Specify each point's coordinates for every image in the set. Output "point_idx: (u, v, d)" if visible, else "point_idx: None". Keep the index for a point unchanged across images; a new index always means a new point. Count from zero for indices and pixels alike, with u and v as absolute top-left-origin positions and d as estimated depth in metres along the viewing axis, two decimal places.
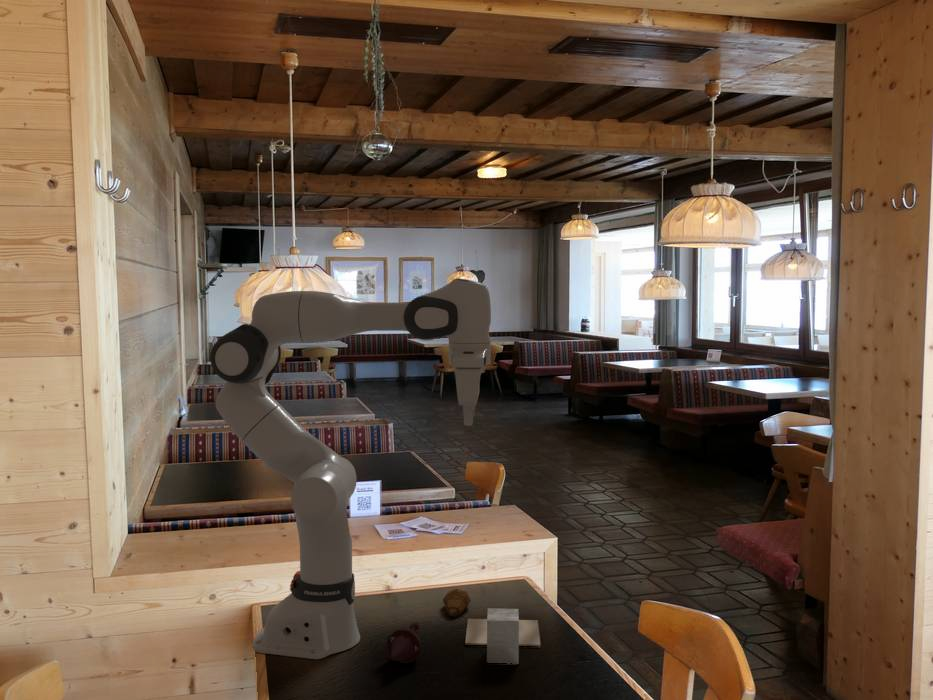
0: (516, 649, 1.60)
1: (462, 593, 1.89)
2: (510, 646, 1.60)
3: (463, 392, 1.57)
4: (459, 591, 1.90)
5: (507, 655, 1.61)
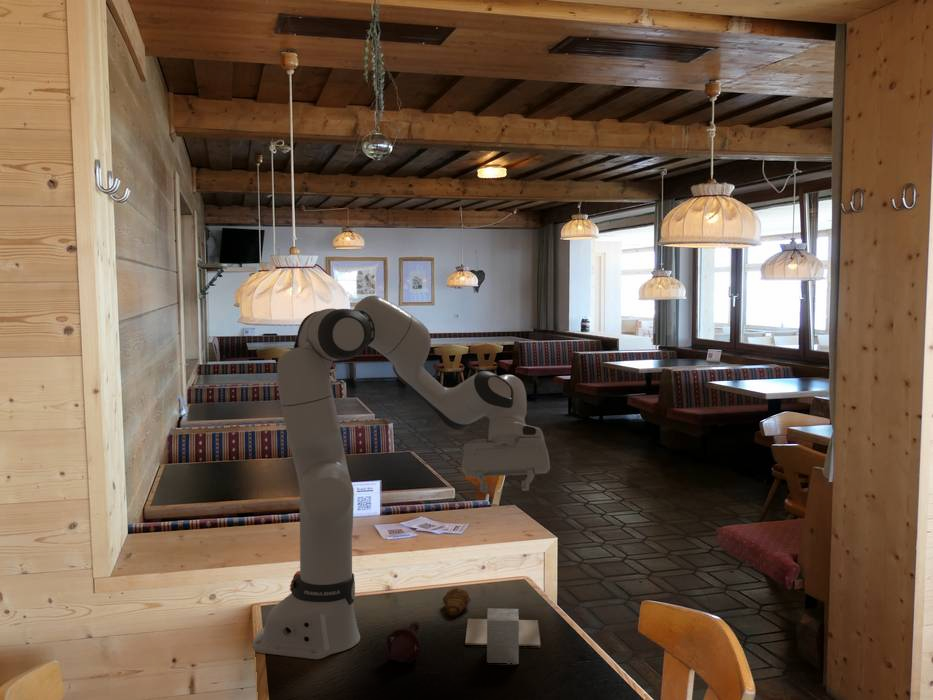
0: (516, 649, 1.60)
1: (462, 592, 1.89)
2: (510, 646, 1.60)
3: (548, 458, 1.81)
4: (459, 590, 1.90)
5: (507, 655, 1.61)
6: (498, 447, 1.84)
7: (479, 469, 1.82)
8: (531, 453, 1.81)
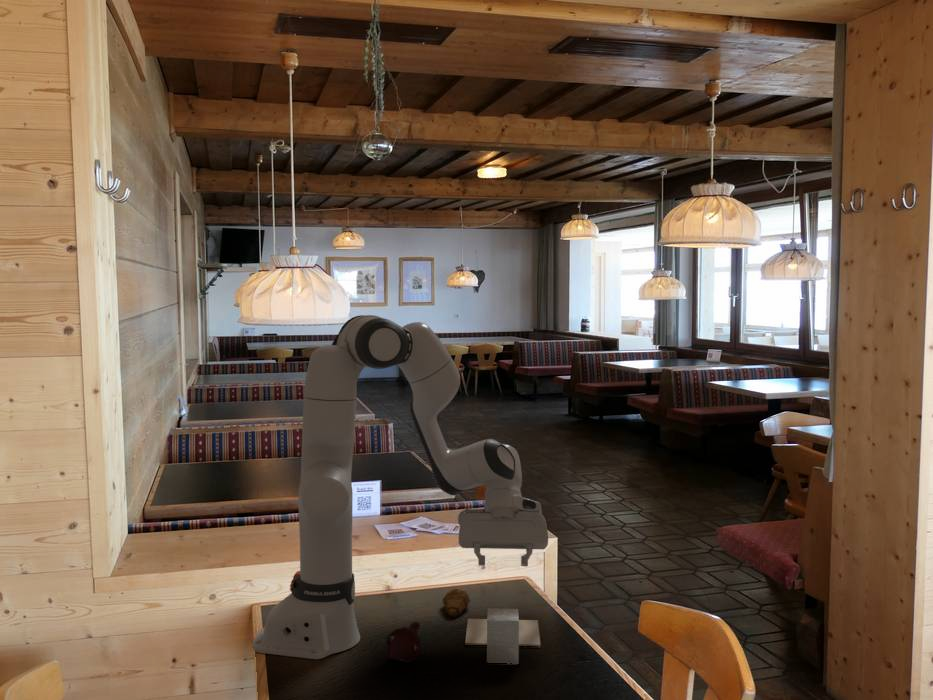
0: (516, 649, 1.60)
1: (462, 593, 1.89)
2: (510, 646, 1.60)
3: None
4: (459, 591, 1.90)
5: (507, 655, 1.61)
6: (496, 519, 1.81)
7: (477, 541, 1.77)
8: (531, 527, 1.79)
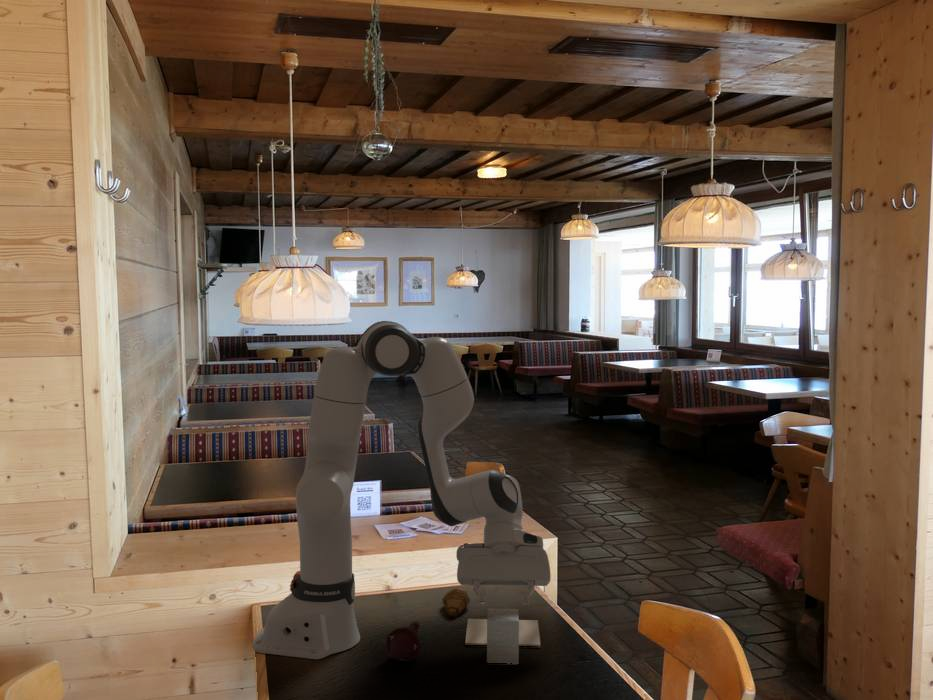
0: (516, 649, 1.60)
1: (461, 593, 1.89)
2: (510, 646, 1.60)
3: None
4: (458, 591, 1.90)
5: (507, 655, 1.61)
6: (496, 554, 1.73)
7: (476, 578, 1.70)
8: (532, 563, 1.72)
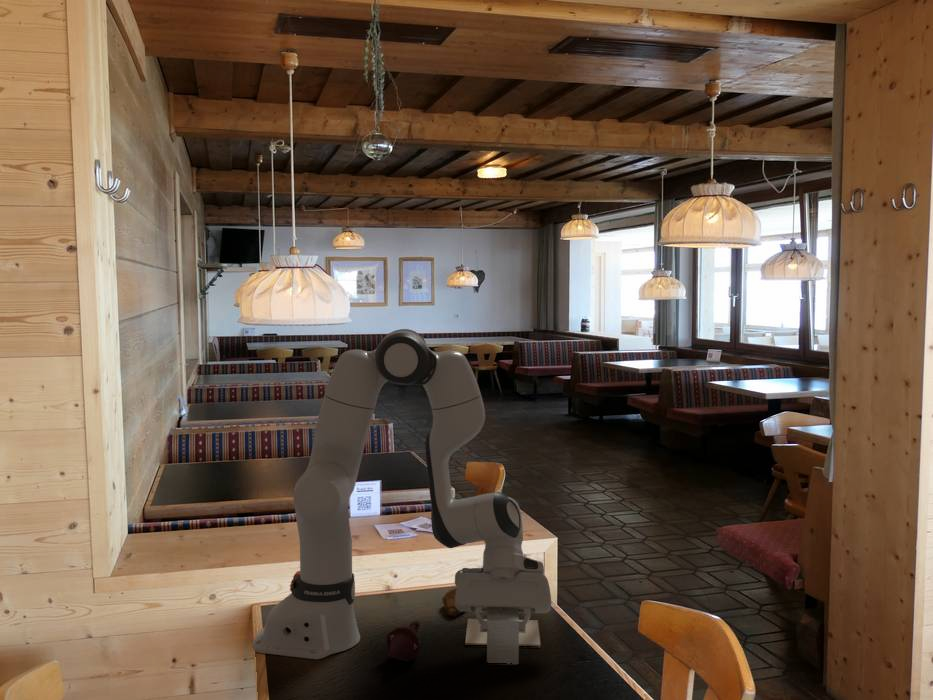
0: (516, 649, 1.60)
1: None
2: (510, 646, 1.60)
3: None
4: None
5: (507, 655, 1.61)
6: (495, 580, 1.69)
7: (475, 605, 1.65)
8: (532, 590, 1.67)
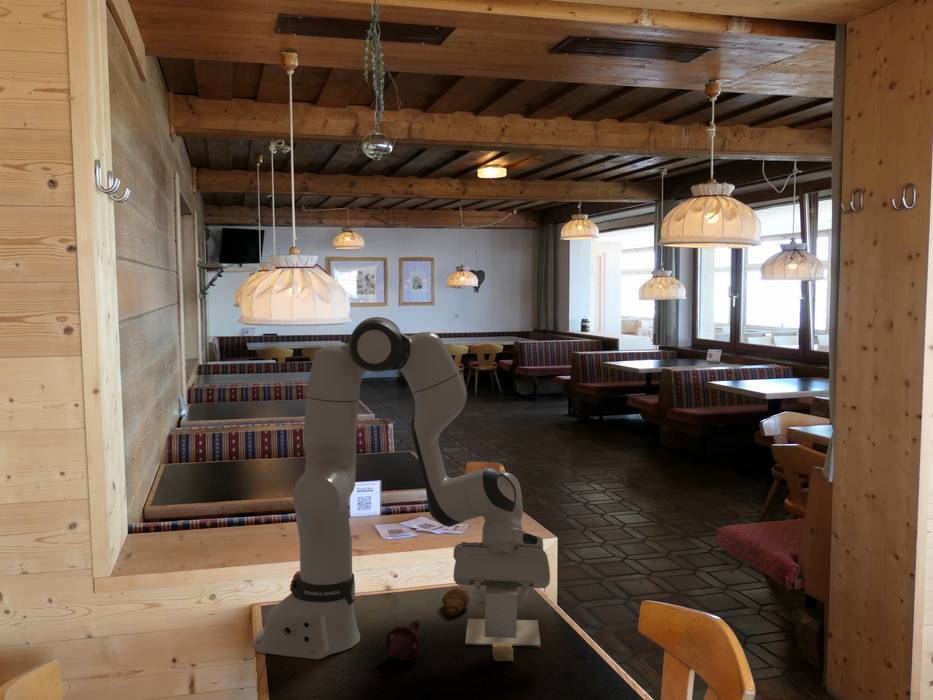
0: (514, 623, 1.60)
1: (461, 592, 1.89)
2: (508, 619, 1.60)
3: None
4: (458, 590, 1.90)
5: (505, 628, 1.60)
6: (494, 554, 1.68)
7: (474, 578, 1.65)
8: (531, 564, 1.67)
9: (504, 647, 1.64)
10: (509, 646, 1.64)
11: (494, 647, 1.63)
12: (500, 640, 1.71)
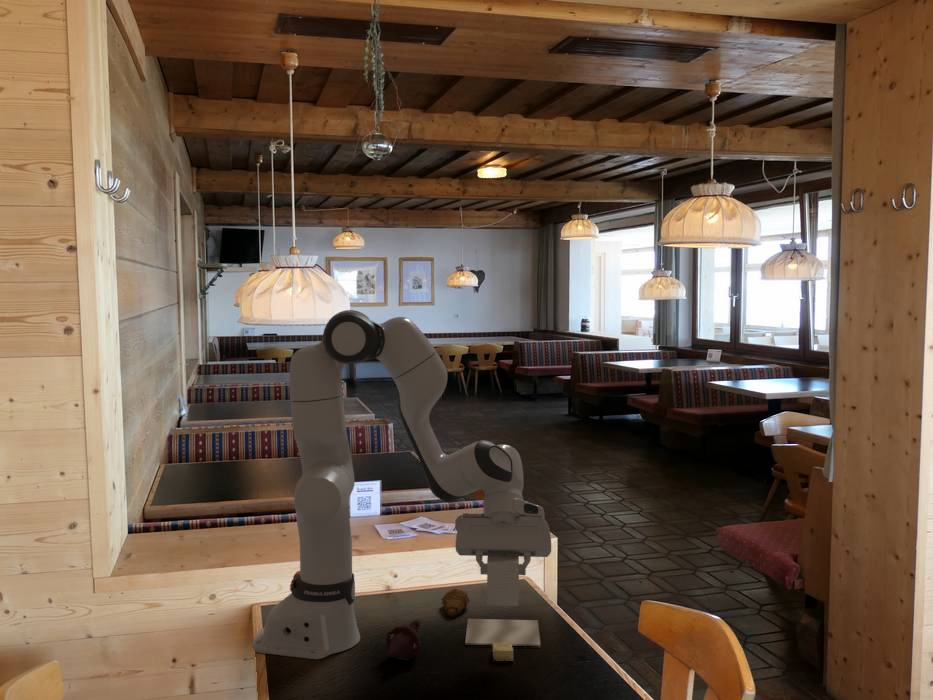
0: (516, 591, 1.61)
1: (461, 593, 1.89)
2: (510, 587, 1.61)
3: None
4: (458, 591, 1.90)
5: (507, 596, 1.61)
6: (496, 524, 1.69)
7: (475, 548, 1.66)
8: (533, 533, 1.67)
9: (504, 647, 1.64)
10: (509, 645, 1.64)
11: (494, 647, 1.63)
12: (500, 640, 1.71)
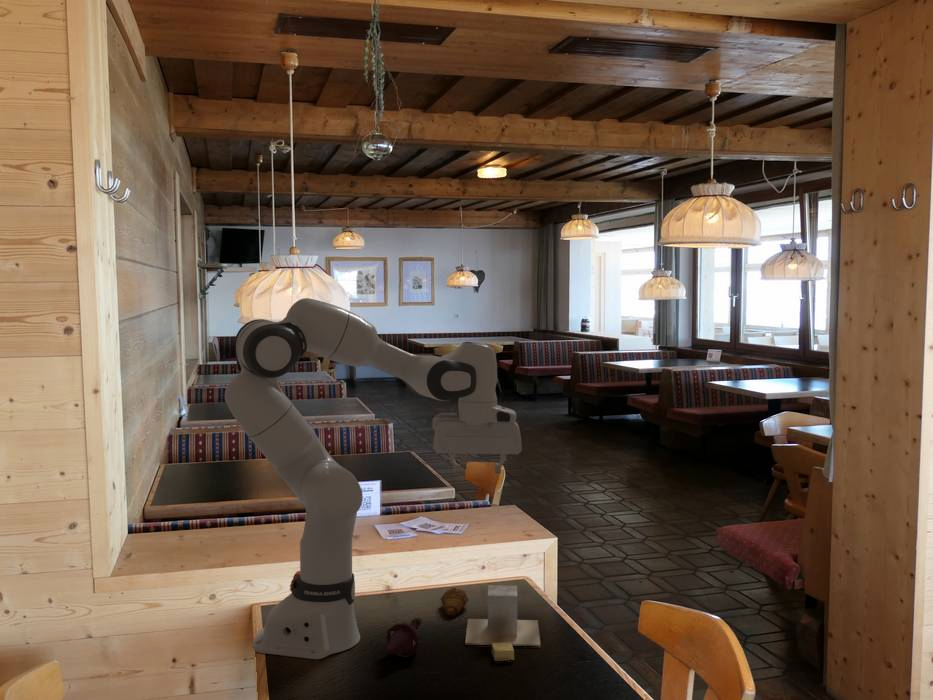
0: (514, 622, 1.72)
1: (460, 592, 1.89)
2: (509, 619, 1.72)
3: None
4: (457, 590, 1.90)
5: (506, 628, 1.73)
6: (470, 429, 1.80)
7: (452, 453, 1.81)
8: (505, 438, 1.80)
9: (504, 647, 1.64)
10: (509, 645, 1.64)
11: (494, 647, 1.63)
12: (500, 640, 1.71)
